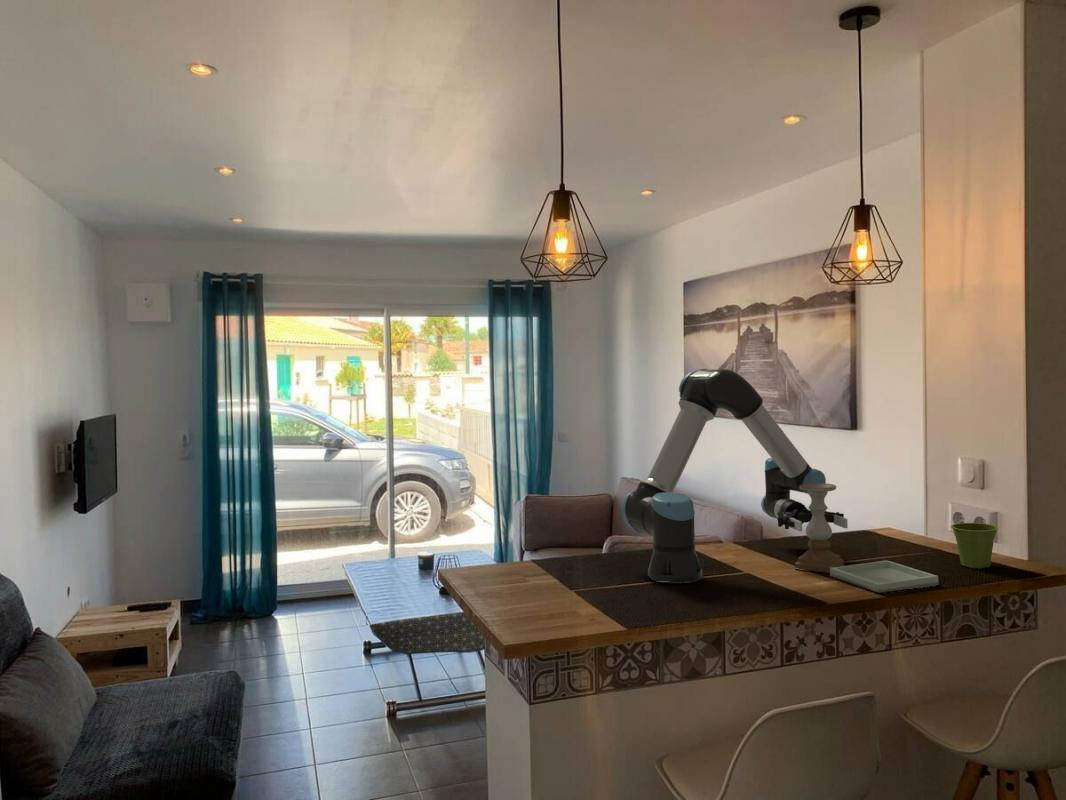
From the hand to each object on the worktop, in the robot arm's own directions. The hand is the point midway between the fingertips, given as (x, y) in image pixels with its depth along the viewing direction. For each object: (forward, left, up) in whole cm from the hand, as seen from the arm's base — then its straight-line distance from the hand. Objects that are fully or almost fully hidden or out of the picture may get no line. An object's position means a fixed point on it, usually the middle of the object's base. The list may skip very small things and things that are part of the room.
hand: (823, 525), depth 236 cm
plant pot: (+40, -14, -13) cm, 44 cm away
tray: (+7, -16, -13) cm, 22 cm away
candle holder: (+1, +3, -13) cm, 14 cm away
